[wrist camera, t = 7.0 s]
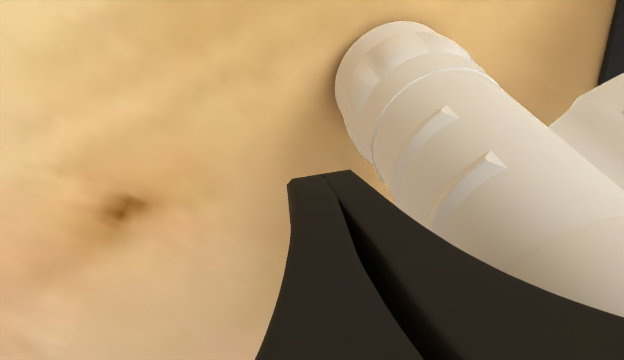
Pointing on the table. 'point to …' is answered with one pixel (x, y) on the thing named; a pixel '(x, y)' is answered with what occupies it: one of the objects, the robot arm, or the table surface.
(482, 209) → the binoculars
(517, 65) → the table surface
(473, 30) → the table surface
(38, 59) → the table surface
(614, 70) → the mat
